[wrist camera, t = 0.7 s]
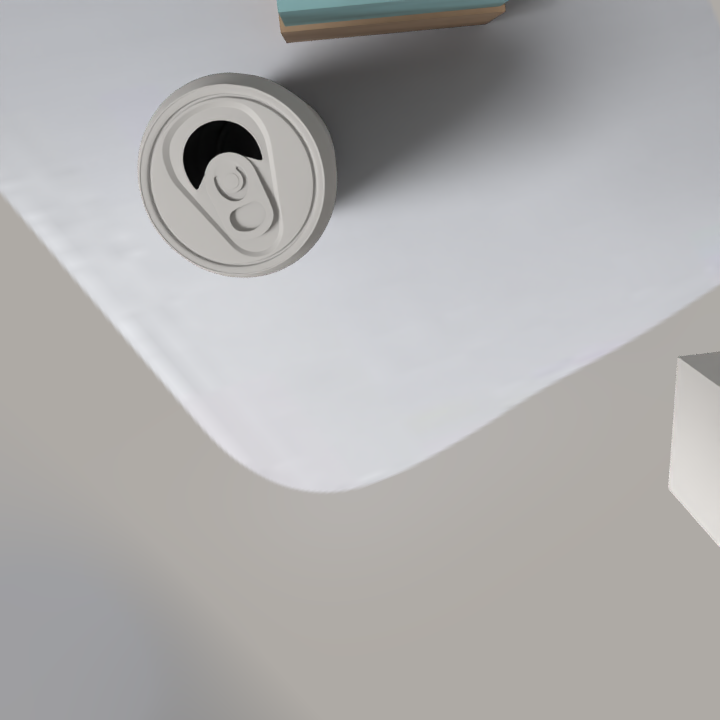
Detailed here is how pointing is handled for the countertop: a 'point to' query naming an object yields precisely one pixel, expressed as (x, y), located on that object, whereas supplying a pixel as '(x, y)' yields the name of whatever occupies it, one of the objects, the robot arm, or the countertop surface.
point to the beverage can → (237, 174)
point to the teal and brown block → (378, 16)
